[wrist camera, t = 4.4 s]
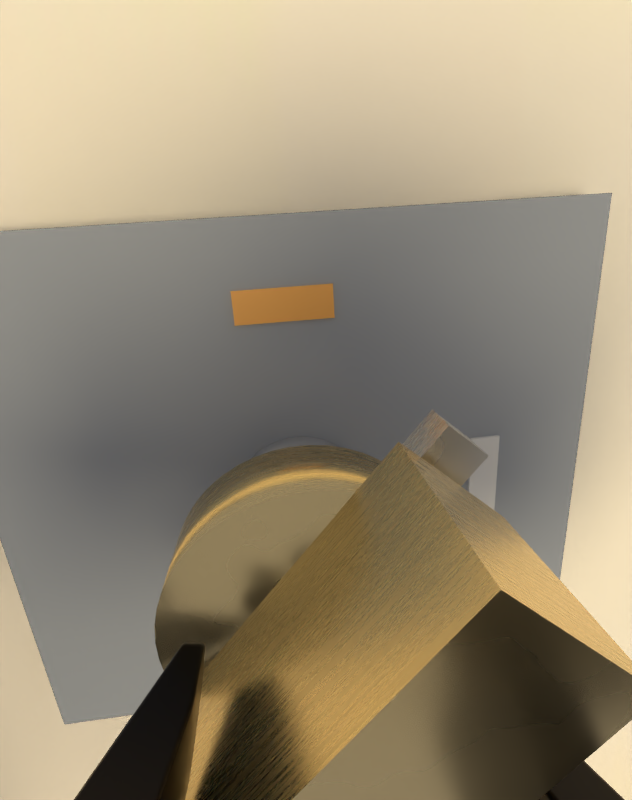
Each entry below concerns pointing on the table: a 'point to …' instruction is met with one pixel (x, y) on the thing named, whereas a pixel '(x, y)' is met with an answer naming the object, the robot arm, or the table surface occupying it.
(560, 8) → the table surface
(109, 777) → the robot arm
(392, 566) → the rotary switch handle
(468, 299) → the post plate
